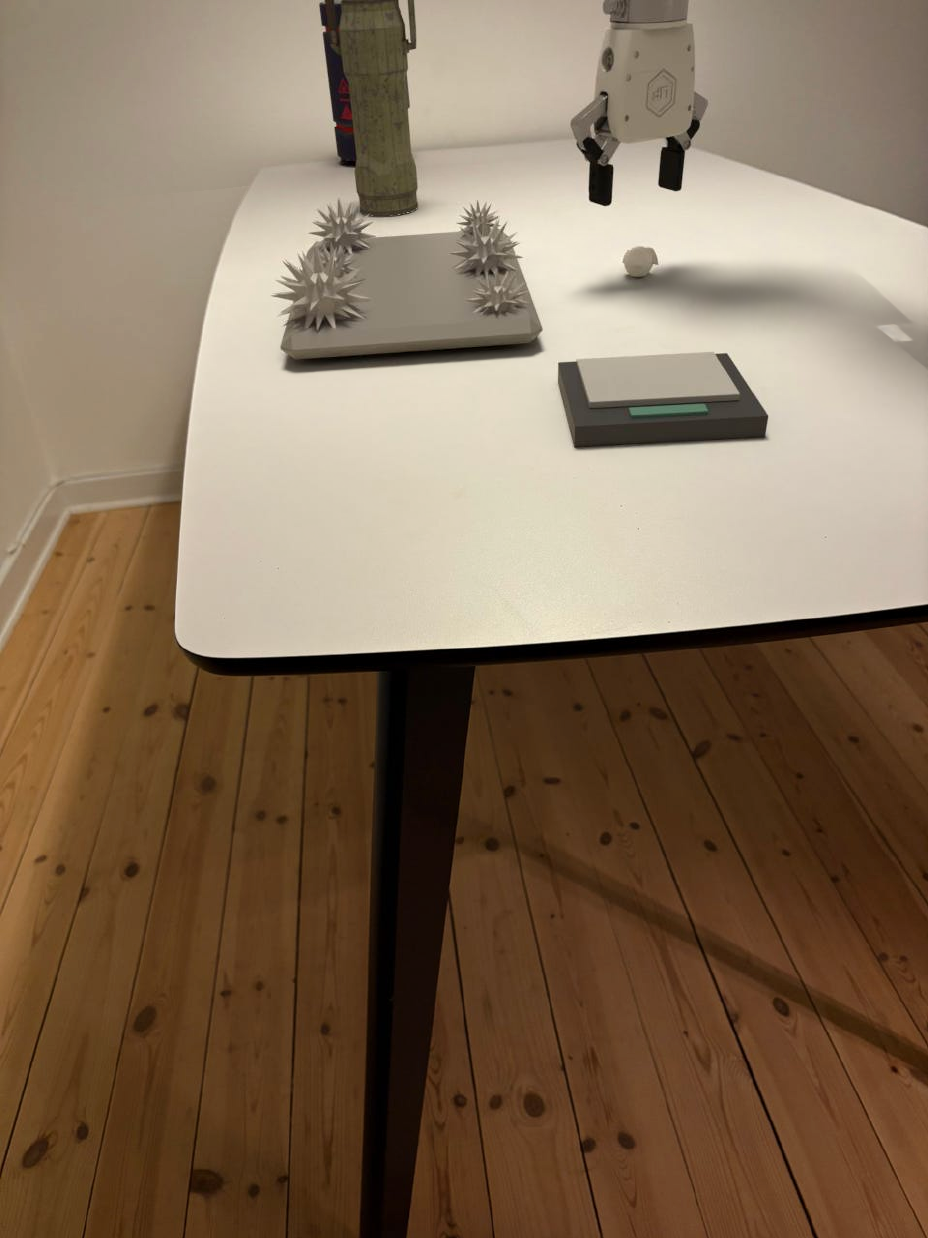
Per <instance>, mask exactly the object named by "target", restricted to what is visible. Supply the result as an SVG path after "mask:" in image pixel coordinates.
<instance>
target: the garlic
mask: <svg viewBox="0 0 928 1238" xmlns="http://www.w3.org/2000/svg"><path fill="white" fill-rule="evenodd" d="M621 262H622V264H623V265H624V266H623V267H624V269H625V271H626V272H627V273H628V274H629V275H630V276H631V277H633V278H642V277H645V276H646V275H648V274H649V272H651V270H652V268H653V265H654V266H655V265H656V266H659V258H658V255H657V252H656V251H655V249H654V248H653V247H649V246H647V247H646V246H641V245H640V246H639V245H638V246H634V247H631V249H627V250H626V252H625V253H624V255H623V257H622V261H621Z"/></svg>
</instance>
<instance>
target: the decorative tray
mask: <svg viewBox="0 0 928 1238" xmlns="http://www.w3.org/2000/svg"><path fill="white" fill-rule="evenodd" d="M353 202H354V200H351V202H350V203H349V205H348V207H347V209H346V211H345V213H344V210H343V207H342V203H341V199H340V198H337V212H336V211H335V210H334V207H332V205H331V203H330V202H329V203H326V206H327V209H328V212H327V214H328V215H327V214H326V213H324V212H323V211H322V210H321V209H319V208H317V209H316V211H317V212H318V213H319V215H320V217H322V219H323V220H324V221H323V222H321V221H318V220H314V221H312V223H313V224H314V225H316V226H317V227H319V228H320V229H322V230H319V231H309V232H308V234H309V235H314V236H318V237H322V240H319V241H318V240H317V241H315V242H314V243H313V245H312V246H310V248H309V249H308V250H307V251H306V254H305V253H304V251H303V250H301V254H302V256H301V255H300V254H298V252H297V253H296V254H297V257H298V259H299V260H298V261H299V263H300V265H301V268H300V267H299V268H298V267H296V266H295V265H294V264H293V263H291V262H289V260H287V259H285V261H282V263H283V264H284V265H285V267H286V268H287V269H288V271H289V272H290V273H291V274H292V276H293V277H294V278H295V279H293V278H290V277H286V276H282V275H280V277H281V278H282V279H283V280H280V279H275V281H276V282H278V283H279V284H281V285H283V286H285V287H287V288H288V289H290V290H292V291H284V292H274V293H273V294H274V295H273V294H272V295H271V297H273V298H278V299H283V300H286V301H287V300H288V301H292V304H290V306H288V307H286V308H285V309H284V310H282V311H280V313H279V314H278V315H276V316H275V317H281V316H284V315H287V314H288V319H287V320H286V321H285V323H284V325H283V327H285V329H284V333H283V337H282V339H281V342H280V343H281V344H280V347H279V348H280V350H281V351H283V352H284V353H285V354H287V355H288V356H290V357H291V358H293V359H294V360H308V359H321V358H337V357H350V356H351V357H352V356H364V355H376V354H378V355H379V354H391V353H393V354H394V353H405V352H420V351H421V352H422V351H433V350H448V349H463V348H476V347H490V346H504V345H519V344H530V343H532V342H533V341H534V339H536V338H537V337H538V336H539V335H540V334H541V333H542V332H543V326H542V325H543V324H542V322H541V320H540V317H539V315H538V312H537V309H536V306H535V303H534V301H533V298H532V296H531V293H530V290H529V287H528V284H527V281H526V279H525V277H524V273H523V271H522V268H521V265H520V262H519V259H524V257H523V256H522V255H517V254H516V252H515V249H514V248H515V247H516V246H518V245H519V244H521V242H519V240H517V241H514V240H511V239H512V238H513V237H515V235H517V234H518V232H515V233H512V234H510V235H509V236H508V235H507V234H506V233H505V232H504V230H505V228H506V226H507V224H508V221H506V222H505V223H504V224H503V226H502V225H500V224H499V223H500V220H501V219H500V218H499V215H497V216H495V214H496V213H497V212H498V211H499V210H495V211H493V212H491V213H490V214H489V211H490V209H491V207H492V204H490V205H489V206H488V207H487V204H488V203H487V201H485V202H484V203H483V206H482V208H480V204H479V199H476V209H475V208H474V206H473V204H472V203H469V206H470V211H469V210H468V209H466V208H465V207H464V206H462V208H463V210H464V211H465V213H466V215H467V216H466V215H461V214H459V217H461V218H462V219H463V220H465V221H462V222H461V221H460V222H456V224H457V225H461V226H464V228H462V227H460V226H459V228H460V230H459V231H449V232H447V231H446V232H437V233H436V232H435V233H434V232H433V233H420V234H419V233H418V234H406V235H405V234H404V235H393V236H392V235H390V236H376V235H373V234H371V233H365V232H363V230H365V229H366V228H367V227H369V226H371V225H372V224H373V223H374V222H373V221H371V222H368V223H364V222H365V221H366V220H367V218H368V217H370V216H369V215H370V214H369V215H364V216H362V217H360V218H359V219H356V218H357V214H358V212H359V210H360V203H359V204H358V206H357V207H356V208H355V210H354V211H353V210H352V209H353ZM494 221H495V222H494ZM493 222H494V223H493ZM363 223H364V224H363ZM499 227H501V228H499ZM302 257H303V258H302Z"/></svg>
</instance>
